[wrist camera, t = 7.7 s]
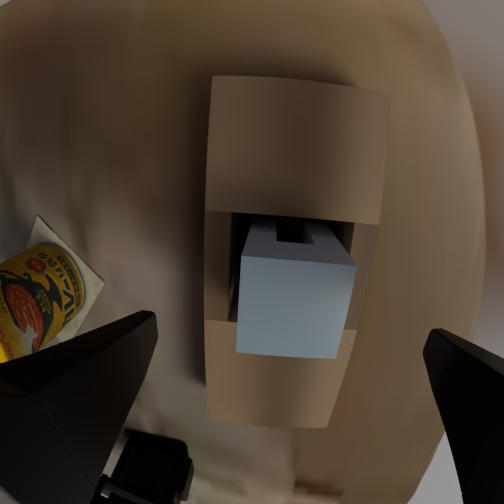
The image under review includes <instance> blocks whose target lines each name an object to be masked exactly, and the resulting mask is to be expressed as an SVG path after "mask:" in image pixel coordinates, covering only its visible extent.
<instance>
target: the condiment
mask: <svg viewBox="0 0 504 504" xmlns="http://www.w3.org/2000/svg"><path fill="white" fill-rule="evenodd" d="M104 284H105V282H104V281H103V280H102V279H101V278H99V277H98V276H97V275H96V274H95V273H94V272H93V271H92V270H91V269H90V268H89V267H88V266H87V265H86V264H85V263H84V262H83V261H82V260H81V259H80V258H79V257H78V256H77V255H76V254H75V253H74V252H73V251H72V250H71V249H70V248H69V247H68V246H67V245H66V244H65V243H64V242H63V241H62V240H61V239H60V238H59V237H58V236H57V235H56V234H55V233H54V232H53V231H52V230H50V229H49V228H48V226H47V225H46V224H45V223H44V222H43V221H42V220H41V219H40V218H39V216H37V218H36V221H35V223H34V226H33V229H32V232H31V235H30V237H29V239H28V243H27V246H26V248H25V251H24V252H22V253H20V254H18V255H16V256H15V257H13V258H11V259H9V260H7V261H5V262H3V263H1V264H0V363H2V362H6V361H9V360H13V359H16V358H19V357H23V356H26V355H29V354H32V353H35V352H38V351H40V350H41V349H42V348H43V347H44V346H45V345H46V344H47V343H48V342H49V341H50V340H51V339H53V338H54V337H56V336H57V337H58V338H59V340H60V341H61V342H64V341H66V340H69V339H71V338H74V336H75V334H76V333H77V331H78V329H79V327H80V326H81V324H82V322H83V320H84V319H85V317H86V315H87V313H88V312H89V310H90V308H91V306H92V305H93V303H94V301H95V300H96V298H97V296H98V294H99V293H100V291H101V290H102V288H103V286H104Z"/></svg>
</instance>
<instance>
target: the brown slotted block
mask: <svg viewBox="0 0 504 504" xmlns="http://www.w3.org/2000/svg"><path fill="white" fill-rule="evenodd" d="M389 102H390V94H386V93H381V92H377V91H372V90H367V89H362V88H357V87H351V86H345V85H339V84H332V83H325V82H318V81H310V80H301V79H290V78H278V77H261V76H212V87H211V100H210V114H209V130H208V147H207V167H206V192H205V228H204V335H205V370H206V394H207V413H208V420H210V421H217V422H225V423H234V424H243V425H255V426H269V427H291V428H326V427H327V425H328V422H329V419H330V416H331V414H332V411H333V408H334V405H335V402H336V399H337V396H338V393H339V390H340V387H341V384H342V381H343V378H344V375H345V371H346V368H347V365H348V361H349V358H350V354H351V351H352V347H353V344H354V340H355V336H356V333H357V329H358V325H359V321H360V317H361V313H362V309H363V304H364V300H365V296H366V291H367V286H368V282H369V277H370V272H371V267H372V262H373V256H374V251H375V245H376V239H377V233H378V226H379V220H380V213H381V205H382V197H383V189H384V180H385V170H386V159H387V146H388V129H389ZM238 212H239V213H253V214H266V215H279V216H291V217H303V218H314V219H325V220H335V221H340V222H339V229H338V237H337V239H338V241H339V242H340V243H341V245H342V246H343V247H344V249H345V250H346V251H347V253H348V254H349V255H350V257H351V258H352V259H353V261H354V262H355V263H356V265H357V270H356V275H355V280H354V285H353V290H352V294H351V299H350V303H349V308H348V312H347V317H346V321H345V325H344V329H343V333H342V337H341V341H340V345H339V348H338V352H337V356H336V359H325V358H302V357H285V356H271V355H259V354H248V353H239V352H236V340H237V322H238V305H239V297H238V296H234V292H235V269H236V247H237V227H238Z"/></svg>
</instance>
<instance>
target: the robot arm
mask: <svg viewBox="0 0 504 504" xmlns="http://www.w3.org/2000/svg"><path fill="white" fill-rule="evenodd" d="M157 339H158V331H157V321H156V315H155V313H154V312H152V311H146V310H141V311H139V312H136V313H134V314H132V315H129V316H127V317H124V318H122V319H119V320H117V321H114V322H112V323H109V324H107V325H104V326H102V327H99V328H97V329H94V330H92V331H89V332H87V333H84V334H82V335H79V336H77V337H74V338H71V339H69V340H66V341H64V342H61V343H59V344H58V345H57V344H56V345H54V346H51V347H48V348H46V349H43V350H40V351H38V352H35V353H32V354H29V355H26V356H23V357H19V358H16V359H13V360H9V361H6V362H2V363H0V504H180V502H181V500H182V501H186V500H187V498H188V494H189V490H190V486H191V482H192V478H193V474H194V467H193V461H192V459H191V458H189V453H188V448H187V445H186V444H184V443H181V442H176V441H171V440H166V439H161V438H157V437H153V436H149V435H145V434H141V433H137V432H133V431H129V430H124V432H123V436H124V439H125V441H126V445H125V447H124V449H123V451H122V453H121V455H120V457H119V460H118V462H117V464H116V466H115V468H114V471H113V473H112V475H111V477H110V478H109V477H108V476H107V475H105V474H104V473H103V474H102V472H103V470H104V468H105V465H106V463H107V461H108V458H109V456H110V454H111V451H112V449H113V447H114V445H115V442H116V440H117V438H118V435H119V433H120V431H121V429H122V427H123V424H124V422H125V420H126V418H127V415H128V413H129V411H130V409H131V407H132V405H133V402H134V400H135V398H136V396H137V394H138V392H139V390H140V387H141V385H142V383H143V381H144V379H145V376H146V373H147V370H148V367H149V364H150V361H151V358H152V355H153V352H154V349H155V346H156V343H157ZM423 357H424V361H425V365H426V368H427V372H428V376H429V380H430V384H431V388H432V391H433V394H434V398H435V400H436V403H437V406H438V409H439V412H440V415H441V418H442V421H443V425H444V428H445V431H446V434H447V438H448V441H449V444H450V448H451V452H452V455H453V459H454V463H455V467H456V471H457V475H458V479H459V483H460V488H461V492H462V499H463V503H464V504H504V358H501V357H500V356H498V355H495V354H493V353H491V352H489V351H487V350H485V349H483V348H481V347H479V346H477V345H475V344H473V343H471V342H469V341H467V340H465V339H463V338H461V337H459V336H457V335H455V334H453V333H451V332H449V331H447V330H444V329H442V328H438V329H432V330H431V331H430V333H429V336H428V338H427V341H426V344H425V346H424V349H423ZM101 475H102V476H101ZM101 493H103V494H105V495H107V496H108V498H106V497H104V496H102V495H101Z"/></svg>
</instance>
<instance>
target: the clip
mask: <svg viewBox="0 0 504 504" xmlns="http://www.w3.org/2000/svg"><path fill="white" fill-rule="evenodd" d="M356 270H357V265H356V263H355V262H354V261H353V259H352V258H351V257H350V255H349V254H348V253H347V251H346V250H345V249H344V247H343V246H342V245H341V243H340V242H339V241H338V239H337V238H336V237H335V235H334V234H333V233H332V231H331V230H330V229H329V228H328V226H327V225H326V224H318V223H308V222H305V224H304V233H303V242H302V243H291V242H279V241H277V240H276V220H275V219H264V218H253V221H252V225H251V228H250V231H249V234H248V237H247V240H246V243H245V246H244V249H243V252H242V256H241V271H240V287H239V305H238V322H237V340H236V352H239V353H248V354H259V355H271V356H285V357H302V358H325V359H336V356H337V352H338V348H339V345H340V341H341V337H342V333H343V329H344V325H345V321H346V317H347V312H348V308H349V303H350V299H351V294H352V290H353V285H354V280H355V275H356Z"/></svg>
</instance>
